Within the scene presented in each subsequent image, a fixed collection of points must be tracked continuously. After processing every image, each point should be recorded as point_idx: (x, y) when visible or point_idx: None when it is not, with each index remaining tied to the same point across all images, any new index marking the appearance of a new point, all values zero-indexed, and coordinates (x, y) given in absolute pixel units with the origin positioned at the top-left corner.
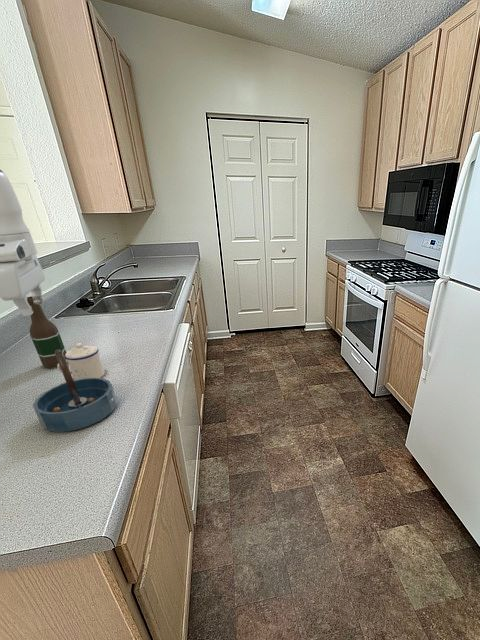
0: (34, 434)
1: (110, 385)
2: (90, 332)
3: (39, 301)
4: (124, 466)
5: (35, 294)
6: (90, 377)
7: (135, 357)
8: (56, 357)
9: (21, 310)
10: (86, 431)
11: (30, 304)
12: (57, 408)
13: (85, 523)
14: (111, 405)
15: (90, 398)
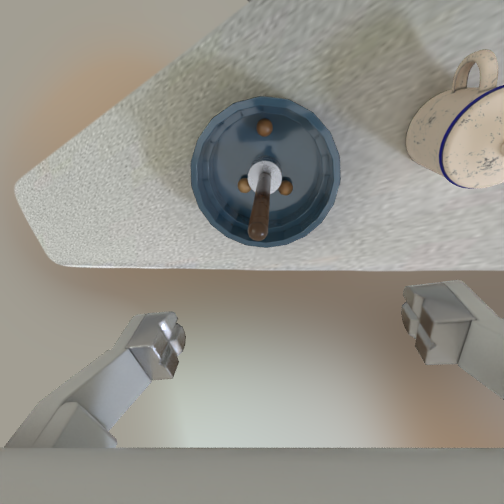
0: (206, 104)
1: (282, 243)
2: None
3: (411, 323)
4: (132, 265)
5: (486, 353)
6: (410, 148)
7: (499, 216)
8: (252, 217)
9: (120, 343)
10: None
11: None
12: (262, 133)
13: (55, 248)
14: None
15: (285, 191)
